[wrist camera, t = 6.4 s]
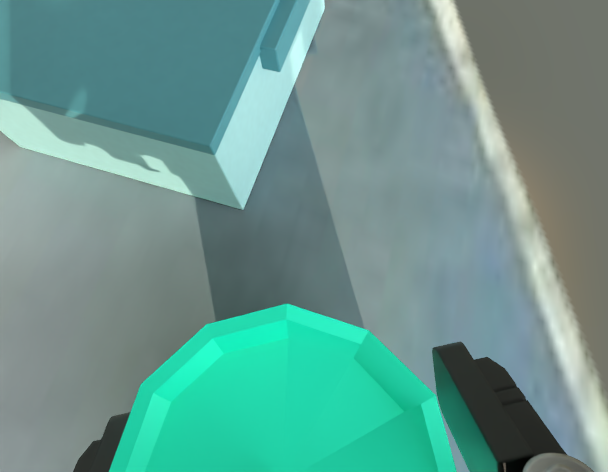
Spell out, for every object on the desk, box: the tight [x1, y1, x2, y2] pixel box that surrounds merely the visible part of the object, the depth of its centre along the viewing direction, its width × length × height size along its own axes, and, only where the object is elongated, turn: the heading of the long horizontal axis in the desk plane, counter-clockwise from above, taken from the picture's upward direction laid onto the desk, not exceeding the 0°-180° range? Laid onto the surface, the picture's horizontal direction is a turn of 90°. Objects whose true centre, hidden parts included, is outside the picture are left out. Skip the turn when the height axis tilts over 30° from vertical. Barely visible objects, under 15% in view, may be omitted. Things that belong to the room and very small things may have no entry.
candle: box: [109, 304, 457, 472], centre depth 12 cm, size 6×6×12 cm
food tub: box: [0, 0, 325, 210], centre depth 21 cm, size 14×13×6 cm
